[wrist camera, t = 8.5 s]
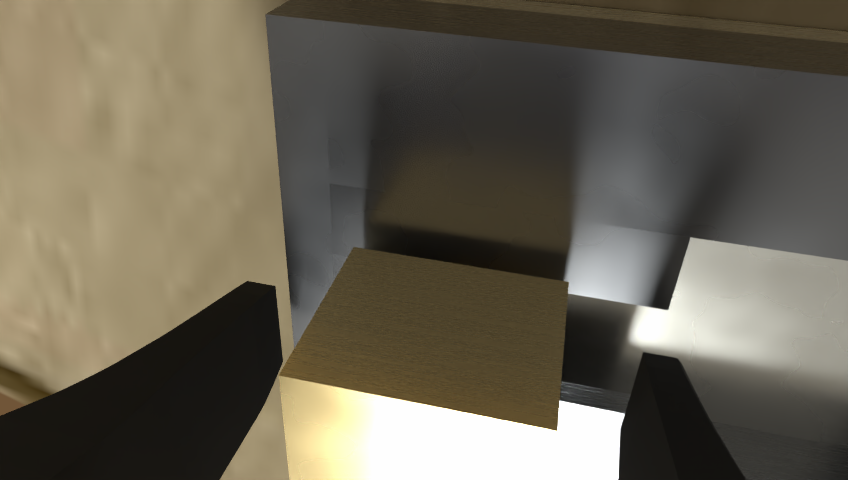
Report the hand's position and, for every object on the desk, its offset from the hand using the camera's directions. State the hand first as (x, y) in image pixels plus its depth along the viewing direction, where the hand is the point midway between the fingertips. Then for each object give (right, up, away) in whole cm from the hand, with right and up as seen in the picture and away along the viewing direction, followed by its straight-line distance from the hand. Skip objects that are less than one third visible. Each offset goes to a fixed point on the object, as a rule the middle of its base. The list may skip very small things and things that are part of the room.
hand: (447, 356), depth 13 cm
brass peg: (+1, +1, +2) cm, 3 cm away
